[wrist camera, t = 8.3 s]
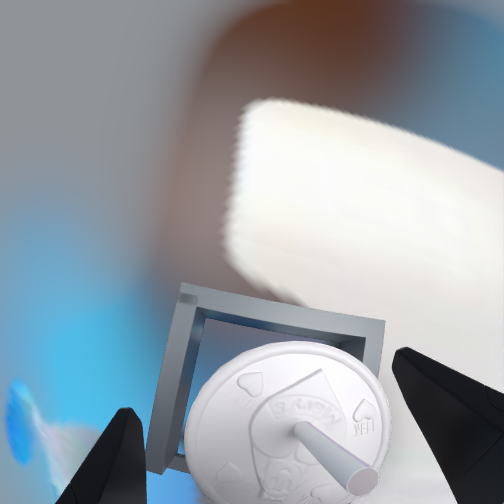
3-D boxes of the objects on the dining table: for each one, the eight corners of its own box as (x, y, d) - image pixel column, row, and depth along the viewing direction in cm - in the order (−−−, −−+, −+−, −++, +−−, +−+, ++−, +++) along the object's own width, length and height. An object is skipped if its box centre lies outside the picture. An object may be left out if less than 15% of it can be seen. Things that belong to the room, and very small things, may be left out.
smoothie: (328, 366, 17) (519, 354, 4) (295, 459, 15) (409, 601, 2) (228, 335, 17) (214, 257, 4) (194, 431, 15) (106, 575, 2)
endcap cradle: (323, 487, 14) (342, 513, 10) (159, 461, 14) (140, 483, 11) (357, 329, 18) (385, 320, 14) (194, 298, 18) (181, 282, 14)
